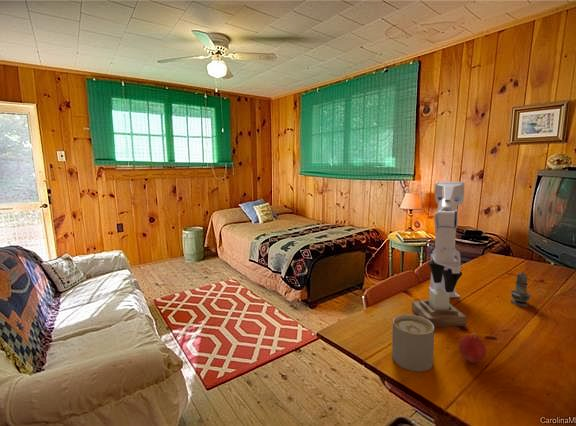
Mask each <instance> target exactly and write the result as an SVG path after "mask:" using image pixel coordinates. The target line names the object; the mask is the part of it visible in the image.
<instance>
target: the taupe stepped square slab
mask: <svg viewBox="0 0 576 426" xmlns="http://www.w3.org/2000/svg"><path fill="white" fill-rule="evenodd" d="M412 309H413V310H412ZM411 310H412V311H413V313H415V315H416V314H417V315H418V316H420V317H423V318H425V319H427V320H429V321H430V322H432V324H433V325H434V328H443V327H444V328H447V327H448V328H449V327H467V316H466V315H465V314H464V313H463V312H462V311H460V310H459V309H457V307H455V306H454V305H452V304H451V303H450V302H449V310H432V309H431V307H430V306H429V299H420V300H416V301H411ZM417 315H416V316H417Z"/></svg>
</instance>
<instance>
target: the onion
mask: <svg viewBox="0 0 576 426" xmlns="http://www.w3.org/2000/svg"><path fill="white" fill-rule="evenodd" d="M458 349H459V351H460V353H461V355H462V356H463V358H465V359H466V360H467V361H468V362H469V363H472V364H473V363H477V362H480V361H481V360H483V359H484V358H485V357H486V354H487V349H486V346H485V344H484V342H483V341H482V339H480V338H479V337H478V336H477V335H476V333H471V334H467V335H465V336H464V337H462V339H460V341H459V343H458Z"/></svg>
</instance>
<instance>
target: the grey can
mask: <svg viewBox="0 0 576 426" xmlns="http://www.w3.org/2000/svg"><path fill="white" fill-rule="evenodd" d="M434 342H435V327H434V325H433V324H432V322H430V321H429V320H427V319H425V318H423V317H420V316H417V315H416V314H408V313H406V314H399V315H396V316H395V317H394V318H393V320H392V342H391V344H392V345H391V348H392V349H391V357H392V359H393V361H394V363H395V364H396V365H398V366H399V367H401V368H403V369H406V370H409V371H412V372H426V371H428V370H430V369H432V368H433V366H434V351H435V350H434V349H435V347H434V345H435V343H434Z"/></svg>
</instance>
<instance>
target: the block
mask: <svg viewBox="0 0 576 426" xmlns="http://www.w3.org/2000/svg"><path fill="white" fill-rule="evenodd" d="M428 295H429V296H428V300H429V306H430V307H431V309H432V310H449V303H450V298H451V297H450V294H449V293H447V292H446V291H445V290H444V289H429V294H428Z"/></svg>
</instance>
